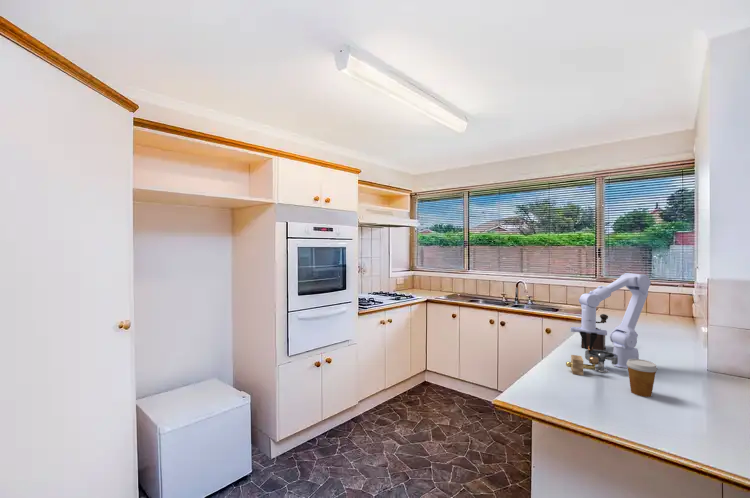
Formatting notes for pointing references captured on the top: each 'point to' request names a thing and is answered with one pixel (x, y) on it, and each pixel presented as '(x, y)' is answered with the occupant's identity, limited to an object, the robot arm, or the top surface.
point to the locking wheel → (601, 355)
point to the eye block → (577, 364)
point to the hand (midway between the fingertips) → (587, 348)
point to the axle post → (601, 367)
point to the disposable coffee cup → (641, 376)
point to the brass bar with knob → (592, 360)
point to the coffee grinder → (600, 340)
